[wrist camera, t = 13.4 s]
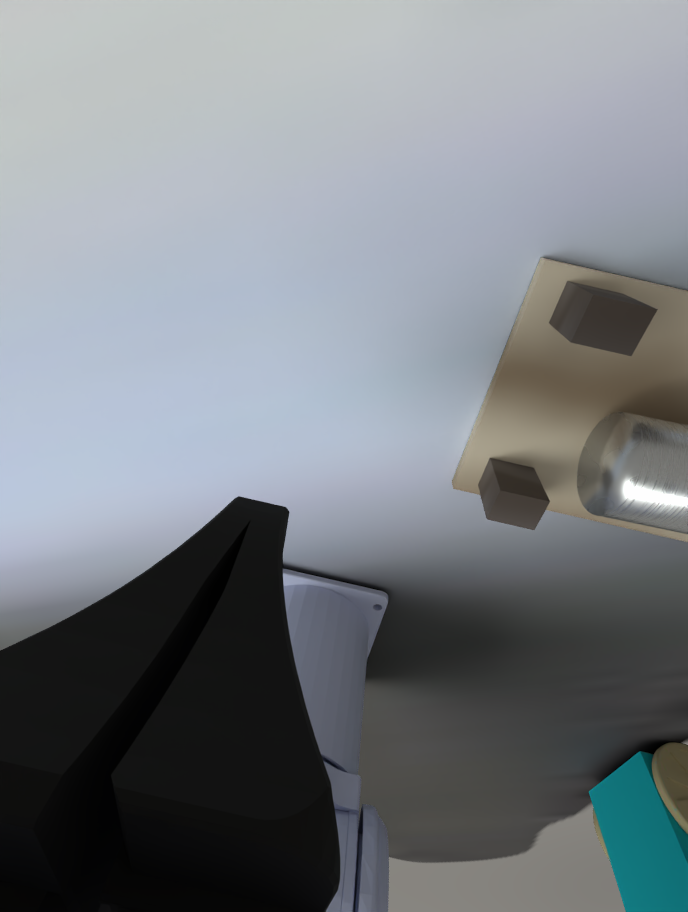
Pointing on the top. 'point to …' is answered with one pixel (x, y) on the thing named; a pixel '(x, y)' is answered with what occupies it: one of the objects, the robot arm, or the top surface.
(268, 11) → the top surface
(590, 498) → the tube
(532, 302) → the collar board
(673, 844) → the toy train
